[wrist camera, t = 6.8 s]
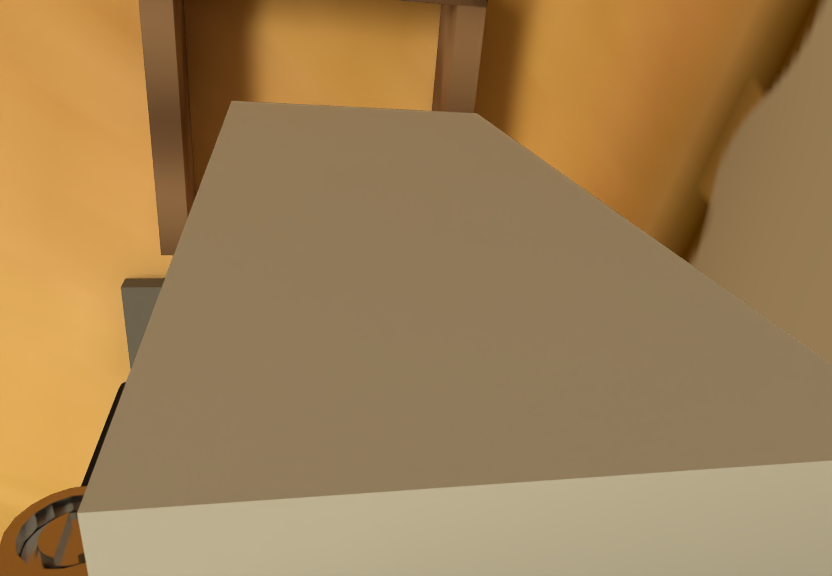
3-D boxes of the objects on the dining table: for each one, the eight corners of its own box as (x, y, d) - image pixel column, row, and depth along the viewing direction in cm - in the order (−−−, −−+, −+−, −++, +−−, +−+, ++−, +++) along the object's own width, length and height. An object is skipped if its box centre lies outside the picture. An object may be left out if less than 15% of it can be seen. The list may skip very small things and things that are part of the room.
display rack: (148, -57, 26) (133, -60, 23) (470, -25, 29) (490, -25, 26) (171, 230, 31) (161, 255, 28) (443, 234, 34) (457, 256, 31)
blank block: (231, 100, 13) (77, 513, 3) (477, 113, 14) (955, 451, 4) (243, 432, 16) (188, 1135, 6) (439, 422, 17) (652, 1015, 7)
